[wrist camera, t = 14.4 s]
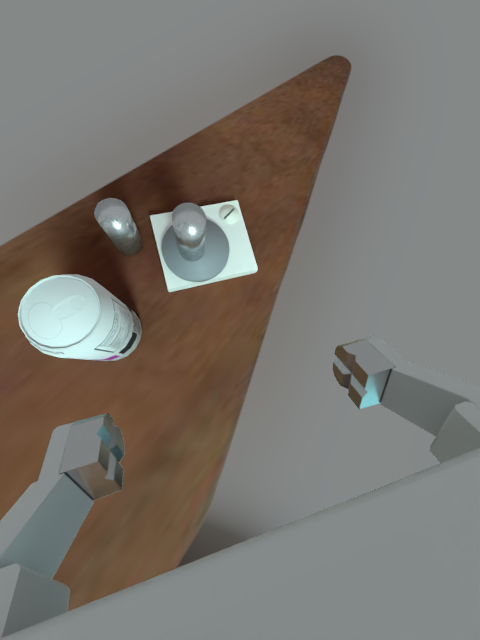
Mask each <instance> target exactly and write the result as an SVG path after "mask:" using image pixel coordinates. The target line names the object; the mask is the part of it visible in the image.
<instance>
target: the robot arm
mask: <svg viewBox="0 0 480 640" xmlns="http://www.w3.org/2000/svg"><path fill="white" fill-rule="evenodd" d="M335 355H336V356H337V359H336V360H335V361H334V363H333V371H334V375H335V377H336V379H337V381H338V382H339V384H340V385H341V386H342V387H344V388H347V389H348V395H349V397H350V398H351V399H352V401H353V402H354V403H355V405H356V406H357V407H358V408H359V409H363V408H365V407H369V406H372V405H376V404H379V403H381V405H382V406H384V407H386V408H388V409H390V410H391V411H393V412H395V413H396V414H398V415H400V416H402V417H404V418H405V419H407V420H408V421H410V422H412V423H414V424H415V425H417V426H419V427H420V428H422V429H424V430H426V431H428V432H429V433H431V434H433V435H434V436H436V438H435V439H434V441H433V442H432V444H431V446H430V451H431V452H432V454H433V455H434V456H435V457H436V458H437V459H438V461H439V462H440V464H437V465H435V466H432V467H430V468H427V469H425V470H422V471H420V472H417V473H415V474H412V475H409V476H407V477H404V478H402V479H399V480H397V481H395V482H392V483H389V484H387V485H384V486H382V487H380V488H377V489H374V490H372V491H369V492H367V493H364V494H362V495H359V496H357V497H355V498H352V499H349V500H347V501H344V502H342V503H339V504H337V505H334V506H332V507H329V508H327V509H324V510H322V511H319V512H317V513H314V514H312V515H309V516H307V517H304V518H302V519H299V520H297V521H294V522H291V523H289V524H287V525H284V526H281V527H279V528H277V529H274V530H271V531H269V532H266V533H264V534H261V535H259V536H256V537H254V538H251V539H249V540H246V541H244V542H241V543H239V544H236V545H234V546H231V547H229V548H226V549H224V550H221V551H219V552H217V553H214V554H211V555H209V556H206V557H204V558H202V559H199V560H196V561H194V562H191V563H189V564H186V565H184V566H181V567H179V568H176V569H174V570H171V571H169V572H166V573H163V574H161V575H158V576H156V577H153V578H151V579H148V580H146V581H143V582H141V583H138V584H136V585H133V586H131V587H128V588H126V589H123V590H121V591H118V592H116V593H113V594H111V595H108V596H106V597H103V598H101V599H98V600H96V601H93V602H91V603H88V604H86V605H83V606H81V607H78V608H76V609H73V610H71V611H68V612H67V609H68V602H69V595H70V589H69V588H68V586H67V585H64V584H62V583H60V582H58V581H55V580H53V577H54V575H55V573H56V571H57V570H58V568H59V566H60V564H61V562H62V560H63V558H64V557H65V555H66V553H67V551H68V549H69V547H70V545H71V544H72V542H73V540H74V538H75V536H76V534H77V533H78V531H79V529H80V527H81V525H82V523H83V521H84V520H85V518H86V516H87V514H88V512H89V510H90V508H91V507H92V505H93V503H94V501H93V500H96V499H99V498H101V497H104V496H107V495H110V494H112V493H115V492H118V491H120V490H122V483H123V467H122V466H121V465H120V463H119V462H120V461H121V459H122V458H123V456H124V447H125V446H124V439H123V435H122V432H121V430H120V429H119V427H117V426H114V425H113V418H112V417H111V415H110V414H109V413H107V414H103V415H99V416H95V417H91V418H88V419H84V420H80V421H76V422H73V423H70V424H66V425H62V426H59V427H56V428H55V430H54V431H53V433H52V436H51V439H50V442H49V445H48V449H47V452H46V455H45V459H44V462H43V465H42V469H41V472H40V475H39V479H38V481H37V482H34V483H32V484H31V485H30V486H29V488H28V489H27V490H26V491H25V492H24V493H23V495H22V496H21V497H20V498H19V499H18V501H17V502H16V503H15V504H14V505H13V507H12V508H11V509H10V510H9V511H8V513H7V514H6V515H5V516H4V517H3V518H2V520H1V521H0V640H480V386H478V385H475V384H472V383H469V382H467V381H464V380H461V379H458V378H455V377H453V376H450V375H447V374H444V373H441V372H439V371H436V370H433V369H430V368H427V367H424V366H422V365H419V364H416V363H408V362H407V361H406V360H405V359H403V358H402V357H401V356H400V355H399V354H398V353H397V352H396V351H394V350H393V349H392V348H391V347H390V346H389V345H388V344H386V343H385V342H384V341H383V340H382V339H381V338H380V337H378V336H376V335H373V336H369V337H366V338H363V339H359V340H355V341H352V342H349V343H346V344H342V345H339V346H338V347H337V348H336V350H335Z"/></svg>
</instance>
